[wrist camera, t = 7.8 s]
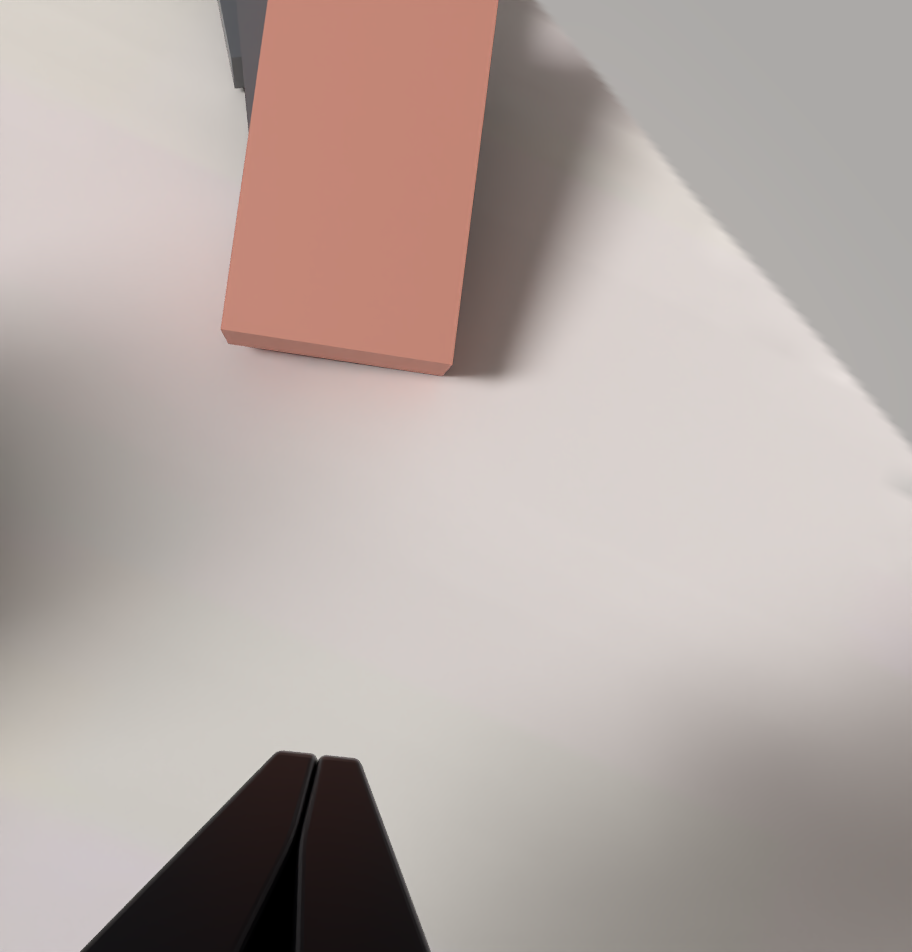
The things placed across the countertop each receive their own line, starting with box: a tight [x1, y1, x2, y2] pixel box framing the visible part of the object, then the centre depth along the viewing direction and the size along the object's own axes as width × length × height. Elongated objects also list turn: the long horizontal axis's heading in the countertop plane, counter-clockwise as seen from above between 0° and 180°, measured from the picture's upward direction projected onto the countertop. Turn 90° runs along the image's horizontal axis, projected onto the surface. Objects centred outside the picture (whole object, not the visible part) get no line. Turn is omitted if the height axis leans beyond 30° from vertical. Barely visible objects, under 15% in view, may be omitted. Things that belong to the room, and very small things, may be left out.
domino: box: [221, 0, 498, 376], centre depth 20 cm, size 2×5×10 cm
